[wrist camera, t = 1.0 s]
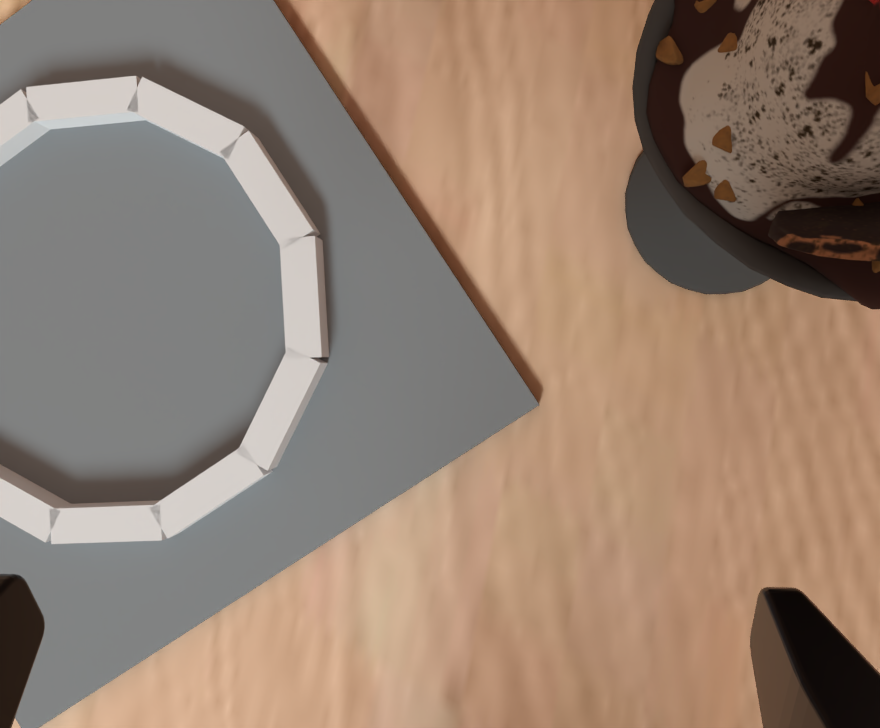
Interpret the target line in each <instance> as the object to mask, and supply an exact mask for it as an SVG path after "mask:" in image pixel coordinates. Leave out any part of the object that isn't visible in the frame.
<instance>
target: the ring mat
mask: <svg viewBox="0 0 880 728" xmlns="http://www.w3.org/2000/svg"><path fill="white" fill-rule="evenodd" d="M538 405H539V403H538V402H537V400H536V399H535V397H534V396H533V394H532V393H531V391H530V389H529V388H528V386H527V385H526V383H525V382H524V380H523V379H522V377H521V376H520V374H519V373H518V371H517V370H516V368H515V367H514V365H513V364H512V362H511V361H510V359H509V358H508V356H507V355H506V353H505V351H504V350H503V348H502V347H501V345H500V344H499V342H498V341H497V339H496V338H495V336H494V335H493V333H492V332H491V330H490V329H489V327H488V326H487V324H486V323H485V321H484V320H483V318H482V316H481V315H480V313H479V312H478V310H477V309H476V307H475V306H474V304H473V303H472V301H471V300H470V298H469V297H468V295H467V294H466V292H465V291H464V289H463V288H462V286H461V285H460V283H459V281H458V280H457V278H456V277H455V275H454V274H453V272H452V271H451V269H450V268H449V266H448V265H447V263H446V262H445V260H444V259H443V257H442V256H441V254H440V253H439V251H438V250H437V248H436V247H435V245H434V243H433V242H432V240H431V239H430V237H429V236H428V234H427V233H426V231H425V230H424V228H423V227H422V225H421V224H420V222H419V221H418V219H417V218H416V216H415V215H414V213H413V212H412V210H411V208H410V207H409V205H408V204H407V202H406V201H405V199H404V198H403V196H402V195H401V193H400V192H399V190H398V189H397V187H396V186H395V184H394V183H393V181H392V180H391V178H390V177H389V175H388V173H387V172H386V170H385V169H384V167H383V166H382V164H381V163H380V161H379V160H378V158H377V157H376V155H375V154H374V152H373V151H372V149H371V148H370V146H369V145H368V143H367V142H366V140H365V139H364V137H363V135H362V134H361V132H360V131H359V129H358V128H357V126H356V125H355V123H354V122H353V120H352V119H351V117H350V116H349V114H348V113H347V111H346V110H345V108H344V107H343V105H342V104H341V102H340V100H339V99H338V97H337V96H336V94H335V93H334V91H333V90H332V88H331V87H330V85H329V84H328V82H327V81H326V79H325V78H324V76H323V75H322V73H321V72H320V70H319V69H318V67H317V65H316V64H315V62H314V61H313V59H312V58H311V56H310V55H309V53H308V52H307V50H306V49H305V47H304V46H303V44H302V43H301V41H300V40H299V38H298V37H297V35H296V34H295V32H294V31H293V29H292V27H291V26H290V24H289V23H288V21H287V20H286V18H285V17H284V15H283V14H282V12H281V11H280V9H279V8H278V6H277V5H276V3H275V2H274V0H32V1H31V2H29V3H28V4H27V5H26V6H24V7H23V8H22V9H20V10H19V11H18V12H16V13H15V14H14V15H12V16H11V17H10V18H8V19H7V20H6V21H4V22H3V23H2V24H1V25H0V574H17V575H20V576H22V577H23V578H24V579H25V580H26V582H27V584H28V586H29V588H30V590H31V592H32V594H33V596H34V598H35V600H36V602H37V604H38V606H39V608H40V610H41V612H42V614H43V616H44V621H45V629H44V635H43V639H42V642H41V644H40V647H39V650H38V653H37V656H36V659H35V661H34V664H33V667H32V670H31V673H30V676H29V679H28V681H27V684H26V687H25V690H24V693H23V696H22V698H21V701H20V704H19V707H18V710H17V713H16V716H15V718H16V720H17V722H18V723H19V725H20V727H21V728H39V727H40V726H42V725H43V724H45V723H46V722H48V721H50V720H51V719H53V718H54V717H56V716H57V715H59V714H60V713H62V712H63V711H65V710H67V709H68V708H70V707H71V706H73V705H74V704H76V703H77V702H79V701H81V700H82V699H84V698H85V697H87V696H88V695H90V694H91V693H93V692H95V691H96V690H98V689H99V688H101V687H102V686H104V685H105V684H107V683H108V682H110V681H112V680H113V679H115V678H116V677H118V676H119V675H121V674H122V673H124V672H126V671H127V670H129V669H130V668H132V667H133V666H135V665H136V664H138V663H140V662H141V661H143V660H144V659H146V658H147V657H149V656H150V655H152V654H153V653H155V652H157V651H158V650H160V649H161V648H163V647H164V646H166V645H167V644H169V643H171V642H172V641H174V640H175V639H177V638H178V637H180V636H181V635H183V634H185V633H186V632H188V631H189V630H191V629H192V628H194V627H195V626H197V625H198V624H200V623H202V622H203V621H205V620H206V619H208V618H209V617H211V616H212V615H214V614H216V613H217V612H219V611H220V610H222V609H223V608H225V607H226V606H228V605H230V604H231V603H233V602H234V601H236V600H237V599H239V598H240V597H242V596H244V595H245V594H247V593H248V592H250V591H251V590H253V589H254V588H256V587H257V586H259V585H261V584H262V583H264V582H265V581H267V580H268V579H270V578H271V577H273V576H275V575H276V574H278V573H279V572H281V571H282V570H284V569H285V568H287V567H289V566H290V565H292V564H293V563H295V562H296V561H298V560H299V559H301V558H302V557H304V556H306V555H307V554H309V553H310V552H312V551H313V550H315V549H316V548H318V547H320V546H321V545H323V544H324V543H326V542H327V541H329V540H330V539H332V538H334V537H335V536H337V535H338V534H340V533H341V532H343V531H344V530H346V529H347V528H349V527H351V526H352V525H354V524H355V523H357V522H358V521H360V520H361V519H363V518H365V517H366V516H368V515H369V514H371V513H372V512H374V511H375V510H377V509H379V508H380V507H382V506H383V505H385V504H386V503H388V502H389V501H391V500H392V499H394V498H396V497H397V496H399V495H400V494H402V493H403V492H405V491H406V490H408V489H410V488H411V487H413V486H414V485H416V484H417V483H419V482H420V481H422V480H424V479H425V478H427V477H428V476H430V475H431V474H433V473H434V472H436V471H438V470H439V469H441V468H442V467H444V466H445V465H447V464H448V463H450V462H451V461H453V460H455V459H456V458H458V457H459V456H461V455H462V454H464V453H465V452H467V451H469V450H470V449H472V448H473V447H475V446H476V445H478V444H479V443H481V442H483V441H484V440H486V439H487V438H489V437H490V436H492V435H493V434H495V433H496V432H498V431H500V430H501V429H503V428H504V427H506V426H507V425H509V424H510V423H512V422H514V421H515V420H517V419H518V418H520V417H521V416H523V415H524V414H526V413H528V412H529V411H531V410H532V409H534V408H535V407H537V406H538Z"/></svg>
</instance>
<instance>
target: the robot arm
mask: <svg viewBox="0 0 880 728" xmlns="http://www.w3.org/2000/svg"><path fill="white" fill-rule="evenodd" d="M44 629H45V621H44V616H43V614H42V612H41V610H40V608H39V606H38V604H37V602H36V600H35V598H34V596H33V594H32V592H31V590H30V588H29V586H28V584H27V582H26V580H25V579H24V578H23V577H22V576H20V575H17V574H0V728H11V727H12V724H13V721H14V718H15V716H16V713H17V710H18V707H19V704H20V701H21V698H22V696H23V693H24V690H25V687H26V684H27V681H28V679H29V676H30V673H31V670H32V667H33V664H34V661H35V659H36V656H37V653H38V650H39V647H40V644H41V642H42V639H43V635H44ZM750 648H751V657H752V663H753V669H754V675H755V681H756V687H757V693H758V699H759V705H760V711H761V717H762V723H763V728H880V673H879V672H878V671H877V670H876V669H875V668H874V667H873V666H872V665H871V664H870V663H869V662H868V661H867V660H866V658H865V657H864V656H863V655H862V654H861V653H860V652H859V651H858V650H857V649H856V648H855V647H854V646H853V645H852V644H851V643H850V642H849V640H848V639H847V638H846V637H845V636H844V635H843V634H842V633H841V632H840V631H839V630H838V629H837V628H836V627H835V626H834V625H833V624H832V622H831V621H830V620H829V619H828V618H827V617H826V616H825V615H824V614H823V613H822V612H821V611H820V610H819V609H818V608H817V607H816V605H815V604H814V603H813V602H812V601H811V600H810V599H809V598H808V597H807V596H806V595H805V594H804V593H803V592H802V591H800V590H798V589H796V588H782V587H766V588H763V589H761V591H760V593H759V595H758V599H757V604H756V609H755V614H754V619H753V624H752V629H751V635H750Z"/></svg>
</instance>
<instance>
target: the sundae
mask: <svg viewBox="0 0 880 728" xmlns="http://www.w3.org/2000/svg"><path fill="white" fill-rule="evenodd" d="M633 102H634V116H635V122H636V126H637V129H638V133H639V136H640V140H641V143H642V147H643V152H642V153H641V155H640V156H639V157H638V159H637V160H636V163H635V165H634V168H633V170H632V173H631V175H630V178H629V182H628V185H627V189H626V193H625V212H626V219H627V226H628V230H629V233H630V235H631V237H632V239H633V242H634V244H635V246H636V248H637V249H638V251H639V253H640V254H641V256H642V258H643V259H644V261H645V262H646V263H647V264H649V265H650V266H651V267H652V268H653V269H654V270H655V271H656V272H657V273H658V274H660V275H661V276H662V277H664V278H665V279H666V280H668V281H669V282H671V283H672V284H675V285H677V286H680V287H683V288H685V289H688V290H692V291H696V292H700V293H704V294H727V293H735V292H742V291H745V290H748V289H750V288H752V287H755V286H757V285H760V284H762V283H763V282H765V281H767V280H769V279H770V278H771V279H773V280H775V281H777V282H780V283H782V284H784V285H786V286H788V287H791V288H794V289H797V290H800V291H803V292H806V293H809V294H812V295H815V296H818V297H821V298H831V299H840V300H850V301H858V302H859V303H860V304H861V305H864V306H866V307H868V308H870V309H880V0H655V1H654V3H653V5H652V7H651V10H650V12H649V14H648V17H647V20H646V24H645V27H644V30H643V33H642V36H641V39H640V42H639V45H638V48H637V52H636V61H635V70H634V79H633Z"/></svg>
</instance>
